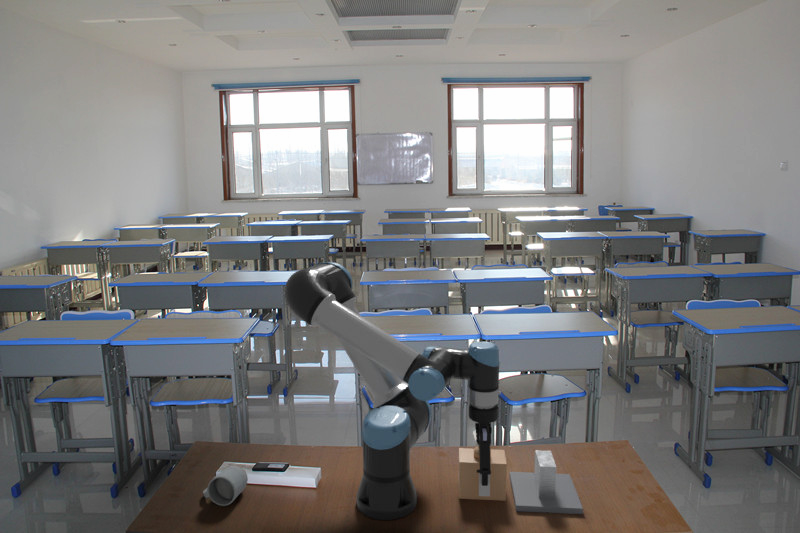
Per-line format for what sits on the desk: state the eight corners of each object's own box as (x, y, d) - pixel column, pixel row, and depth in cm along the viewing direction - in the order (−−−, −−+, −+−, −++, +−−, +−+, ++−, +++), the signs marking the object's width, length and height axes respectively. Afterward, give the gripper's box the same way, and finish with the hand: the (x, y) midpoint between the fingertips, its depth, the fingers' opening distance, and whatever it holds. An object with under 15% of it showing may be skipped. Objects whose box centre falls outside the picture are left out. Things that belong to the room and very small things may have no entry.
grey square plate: (516, 511, 141) (517, 473, 140) (509, 476, 157) (510, 442, 156) (582, 514, 140) (584, 476, 138) (569, 479, 156) (571, 444, 154)
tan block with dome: (458, 498, 147) (459, 456, 145) (458, 482, 154) (459, 442, 152) (505, 500, 146) (507, 458, 144) (503, 484, 153) (504, 444, 151)
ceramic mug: (250, 490, 151) (248, 462, 150) (235, 507, 143) (233, 479, 142) (213, 486, 153) (211, 459, 152) (196, 503, 145) (194, 475, 144)
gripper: (502, 425, 133) (501, 509, 137) (494, 385, 158) (493, 457, 161) (470, 424, 134) (469, 508, 137) (467, 384, 158) (466, 456, 162)
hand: (482, 481), depth 149 cm, fingers open, 13 cm apart
